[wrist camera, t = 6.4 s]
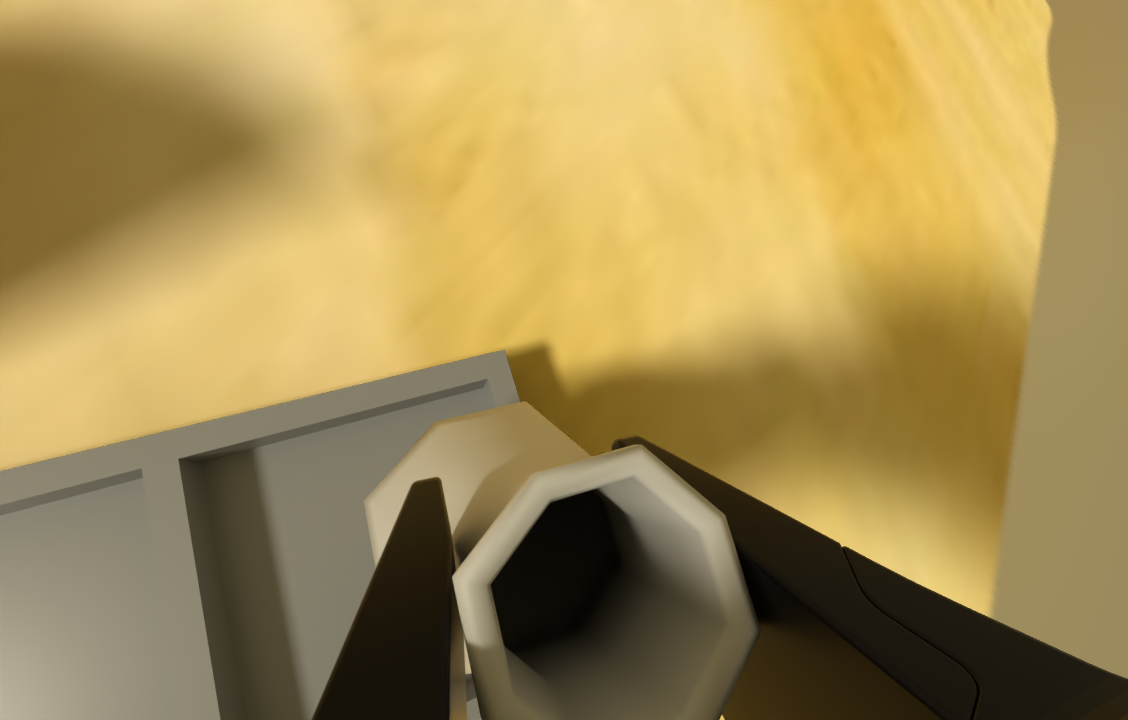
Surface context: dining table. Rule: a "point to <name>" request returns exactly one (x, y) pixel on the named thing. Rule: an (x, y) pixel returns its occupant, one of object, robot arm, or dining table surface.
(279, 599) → the caddy tray
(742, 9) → the dining table surface
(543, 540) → the flask
